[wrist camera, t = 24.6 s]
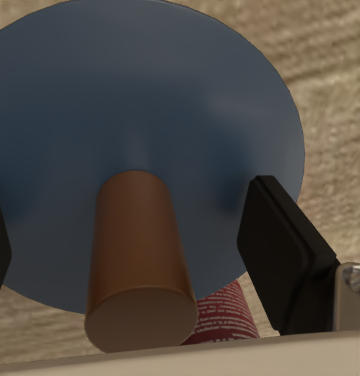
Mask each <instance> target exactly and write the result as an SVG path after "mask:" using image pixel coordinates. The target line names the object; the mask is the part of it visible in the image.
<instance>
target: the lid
mask: <svg viewBox="0 0 360 376" xmlns="http://www.w3.org/2000/svg"><path fill="white" fill-rule="evenodd" d="M304 161H305V148H304V137H303V130H302V126H301V122H300V118H299V114H298V111H297V108H296V106H295V103H294V101H293V99H292V96H291V94H290V91H289V90H288V88H287V86H286V85H285V83H284V81H283V80H282V78H281V77H280V75H279V73H278V72H277V70H276V69H275V68H274V67H273V66H272V64H271V63H270V62H269V61H268V60H267V59H266V57H265V56H264V55H263V54H262V53H261V52H260V51H259V50H258V49H257V48H256V47H255V46H254V45H252V44H251V43H250V42H249V41H248V40H247V39H245V38H244V37H243V36H242V35H241V34H239V33H238V32H236V31H235V30H233V29H231V28H230V27H228V26H227V25H225V24H223V23H222V22H220V21H219V20H217V19H215V18H213V17H211V16H208V15H206V14H204V13H201V12H199V11H197V10H194V9H192V8H190V7H187V6H185V5H181V4H177V3H173V2H169V1H165V0H69V1H64V2H60V3H57V4H54V5H52V6H49V7H46V8H43V9H41V10H38V11H35V12H32V13H30V14H27V15H26V16H24V17H22V18H20V19H19V20H17V21H15V22H13V23H11V24H10V25H8V26H6V27H4V28H2V29H1V30H0V207H1V211H2V214H3V218H4V222H5V226H6V230H7V234H8V238H9V242H10V246H11V250H12V258H11V262H10V265H9V268H8V270H7V273H6V275H5V278H4V281H3V283H2V284H3V285H5V286H6V287H8V288H9V289H11V290H13V291H15V292H17V293H19V294H21V295H23V296H25V297H27V298H29V299H32V300H34V301H37V302H39V303H42V304H45V305H47V306H51V307H54V308H58V309H61V310H65V311H70V312H75V313H80V314H85V321H84V329H85V333H86V335H87V337H88V339H89V341H90V342H91V343H92V344H93V345H94V346H95V347H96V348H98V349H99V350H101V351H103V352H105V353H116V352H125V351H135V350H145V349H154V348H164V347H174V346H178V345H180V344H181V343H182V342H184V341H185V340H186V339H187V338H188V337H189V336H190V335H191V334H192V333H193V331H194V329H195V327H196V325H197V322H198V317H199V311H198V307H197V303H196V301H197V300H199V299H202V298H204V297H206V296H209V295H211V294H212V293H214V292H216V291H218V290H220V289H222V288H224V287H225V286H227V285H228V284H230V283H231V282H233V281H234V280H236V279H237V278H239V277H240V276H241V275H243V274H244V273H245V272H246V271H247V269H246V267H245V265H244V263H243V260H242V258H241V256H240V253H239V251H238V249H237V236H238V231H239V226H240V222H241V217H242V213H243V208H244V204H245V199H246V195H247V190H248V185H249V182H250V180H253V179H254V178H255V176H257V175H273V176H275V178H276V179H277V180H278V181H279V183H280V184H281V185H282V186H283V188H284V189H285V190H286V192H287V193H288V194H289V195H290V197H291V198H292V199H293V200H294V202H295V203H296V202H297V199H298V196H299V193H300V190H301V185H302V180H303V175H304Z"/></svg>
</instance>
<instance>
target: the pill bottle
mask: <svg viewBox="0 0 360 376" xmlns="http://www.w3.org/2000/svg"><path fill="white" fill-rule="evenodd" d="M196 303H197V307H198V311H199V317H198V322H197V325H196V327H195V329H194V331H193V333H192V334H191V335H190V336H189V337H188V338H187V339H186V340H185V341H184V342H182V343H181V344H180V345H178V346H184V345H193V344H203V343H214V342H224V341H234V340H244V339H255V338H260V336H259V334H258V331H257V328H256V326H255V323H254V321H253V318H252V316H251V313H250V310H249V308H248V305H247V303H246V300H245V297H244V295H243V292H242V289H241V287H240V284H239V282H238V279H236V280H234V281H233V282H231V283H230V284H228V285H227V286H225V287H224V288H222V289H220V290H218V291H216V292H214V293H212V294H211V295H209V296H206V297H204V298H202V299H199V300H197V301H196Z"/></svg>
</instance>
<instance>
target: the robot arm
mask: <svg viewBox="0 0 360 376" xmlns="http://www.w3.org/2000/svg"><path fill="white" fill-rule="evenodd" d="M237 249H238V251H239V253H240V256H241V258H242V260H243V263H244V265H245V267H246V269H247V272H248V274H249V276H250V278H251V281H252V283H253V285H254V287H255V290H256V292H257V294H258V296H259V299H260V301H261V303H262V306H263V308H264V310H265V312H266V315H267V317H268V319H269V321H270V324H271V326H272V328H273V329H274V330H278V331H279V333H280V336H275V337H265V338H255V339H244V340H234V341H224V342H214V343H203V344H193V345H184V346H174V347H164V348H154V349H145V350H135V351H125V352H116V353H106V354H96V355H87V356H77V357H68V358H59V359H50V360H40V361H31V362H22V363H13V364H4V365H0V376H360V263H355V262H347V263H343V264H341V263H340V262H339V261H338V259H337V258H336V256H337V255H336V254H335V252H334V251H333V250H332V249H331V247H330V246H329V245H328V243H327V242H326V241H325V240H324V238H323V237H322V236H321V235H320V233H319V232H318V231H317V230H316V228H315V227H314V226H313V224H312V223H311V222H310V221H309V219H308V218H307V217H306V216H305V214H304V213H303V212H302V211H301V209H300V208H299V207H298V205H297V204H296V203H295V202H294V200H293V199H292V198H291V197H290V195H289V194H288V193H287V192H286V190H285V189H284V188H283V186H282V185H281V184H280V183H279V181H278V180H277V179H276V178H275V176H273V175H257V176H255V178H254V179H253V180H250V182H249V185H248V190H247V195H246V199H245V204H244V208H243V213H242V217H241V222H240V226H239V231H238V236H237ZM11 258H12V250H11V246H10V242H9V238H8V234H7V230H6V226H5V222H4V218H3V214H2V211H1V207H0V289H1V286H2V283H3V281H4V278H5V275H6V273H7V270H8V268H9V265H10V262H11Z"/></svg>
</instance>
